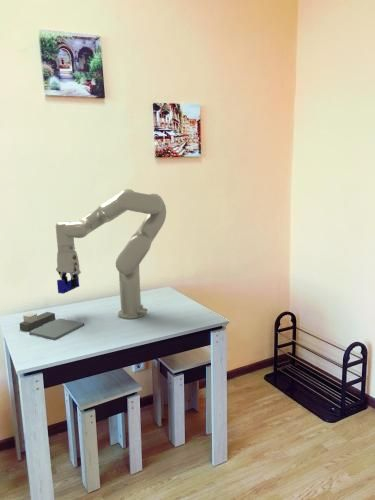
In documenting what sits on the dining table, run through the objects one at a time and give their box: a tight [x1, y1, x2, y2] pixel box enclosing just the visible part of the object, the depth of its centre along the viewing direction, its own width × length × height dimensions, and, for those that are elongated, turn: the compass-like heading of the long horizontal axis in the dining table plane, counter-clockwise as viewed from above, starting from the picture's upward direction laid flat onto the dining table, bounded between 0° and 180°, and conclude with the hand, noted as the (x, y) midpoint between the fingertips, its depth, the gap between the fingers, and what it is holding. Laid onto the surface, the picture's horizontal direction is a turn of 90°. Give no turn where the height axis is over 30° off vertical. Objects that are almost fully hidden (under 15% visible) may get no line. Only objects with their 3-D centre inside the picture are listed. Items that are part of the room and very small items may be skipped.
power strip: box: [19, 311, 56, 332], centre depth 189 cm, size 5×16×6 cm, turn 152°
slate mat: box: [28, 317, 86, 341], centre depth 183 cm, size 15×18×1 cm
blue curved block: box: [56, 273, 80, 295], centre depth 193 cm, size 12×4×6 cm, turn 160°
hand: (69, 285), depth 195 cm, fingers closed on blue curved block, 5 cm apart
